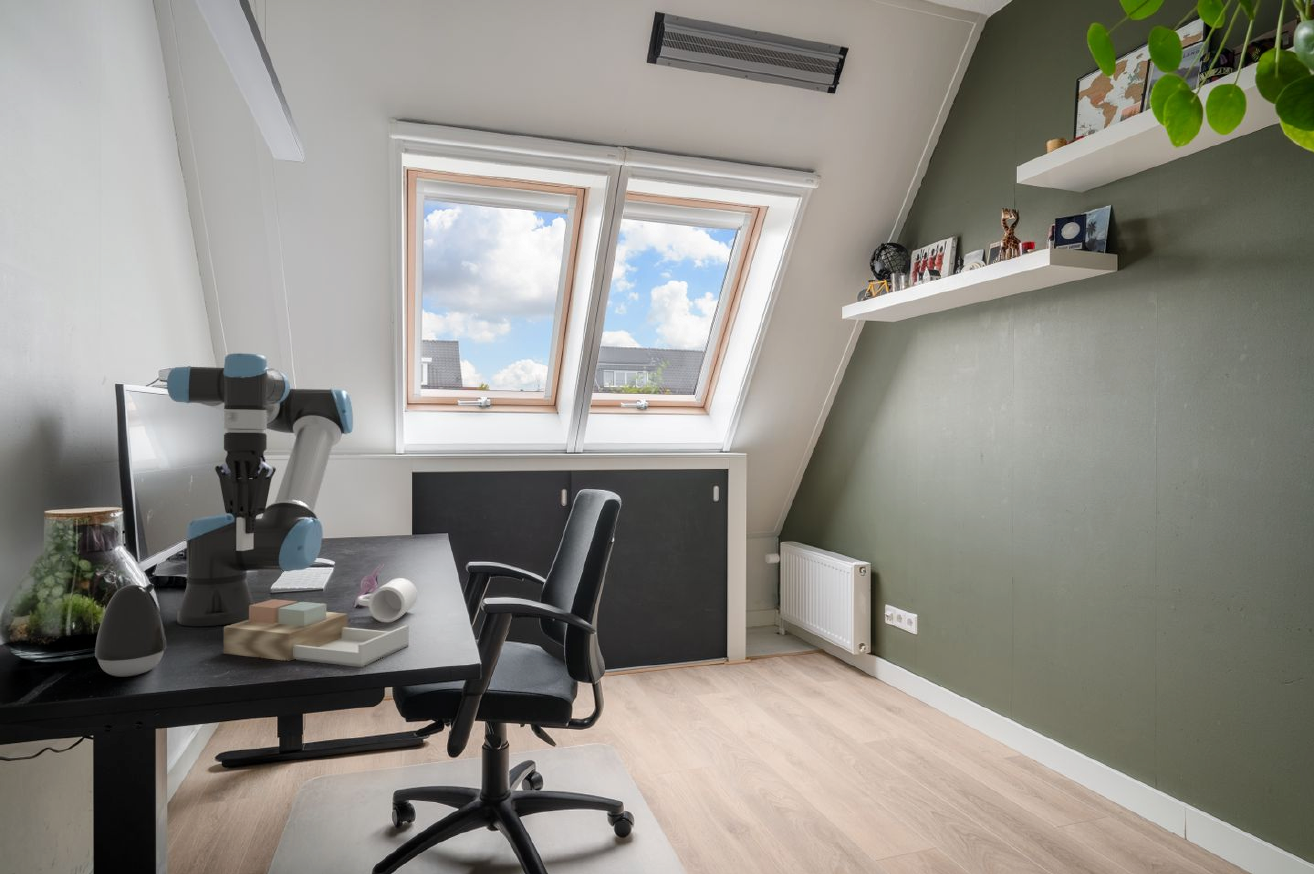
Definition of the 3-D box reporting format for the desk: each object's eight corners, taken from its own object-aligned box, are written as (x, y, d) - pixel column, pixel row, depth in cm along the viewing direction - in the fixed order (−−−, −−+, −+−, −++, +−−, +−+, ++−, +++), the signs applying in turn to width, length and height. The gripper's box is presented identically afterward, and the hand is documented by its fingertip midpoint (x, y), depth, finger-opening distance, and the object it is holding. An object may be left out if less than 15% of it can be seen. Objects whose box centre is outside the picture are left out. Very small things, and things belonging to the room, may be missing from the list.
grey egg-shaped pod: (180, 663, 138) (180, 579, 138) (139, 682, 128) (140, 591, 128) (124, 662, 138) (124, 578, 138) (79, 681, 128) (79, 590, 128)
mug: (417, 612, 178) (417, 577, 178) (404, 622, 169) (404, 586, 168) (365, 611, 178) (365, 577, 178) (349, 622, 168) (349, 586, 168)
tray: (292, 659, 141) (293, 637, 141) (344, 639, 154) (344, 619, 154) (361, 667, 137) (362, 644, 137) (408, 646, 150) (408, 625, 150)
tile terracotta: (249, 621, 149) (249, 605, 149) (272, 614, 155) (272, 599, 154) (274, 623, 147) (274, 608, 147) (297, 616, 153) (297, 601, 153)
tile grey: (278, 623, 147) (278, 608, 147) (301, 616, 153) (301, 601, 152) (304, 626, 145) (304, 610, 145) (326, 619, 151) (326, 603, 151)
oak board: (223, 653, 144) (223, 626, 144) (286, 632, 160) (287, 608, 160) (288, 660, 140) (288, 633, 140) (347, 638, 155) (347, 613, 155)
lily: (367, 600, 195) (348, 569, 192) (409, 583, 194) (390, 552, 191) (353, 626, 183) (332, 594, 180) (397, 608, 183) (378, 575, 180)
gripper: (203, 431, 151) (203, 550, 151) (257, 431, 147) (256, 554, 147) (234, 431, 158) (234, 545, 158) (286, 431, 154) (285, 548, 154)
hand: (244, 549), depth 153 cm, fingers closed
